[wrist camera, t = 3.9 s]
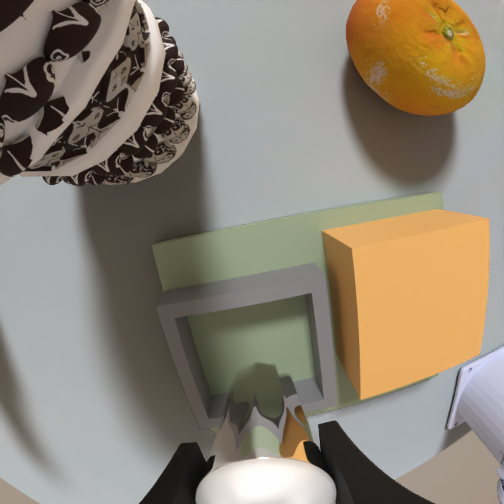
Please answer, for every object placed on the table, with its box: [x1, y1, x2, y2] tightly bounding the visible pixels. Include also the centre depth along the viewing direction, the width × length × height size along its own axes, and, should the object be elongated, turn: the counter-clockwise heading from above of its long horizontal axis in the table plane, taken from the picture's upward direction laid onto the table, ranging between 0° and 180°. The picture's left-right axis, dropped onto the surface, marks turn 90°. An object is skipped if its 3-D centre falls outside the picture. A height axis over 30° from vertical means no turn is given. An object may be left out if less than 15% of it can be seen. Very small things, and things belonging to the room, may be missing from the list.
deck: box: [152, 192, 490, 431], centre depth 16 cm, size 18×14×6 cm
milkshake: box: [196, 361, 336, 504], centre depth 10 cm, size 4×5×10 cm
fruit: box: [346, 0, 485, 116], centre depth 13 cm, size 8×8×8 cm
